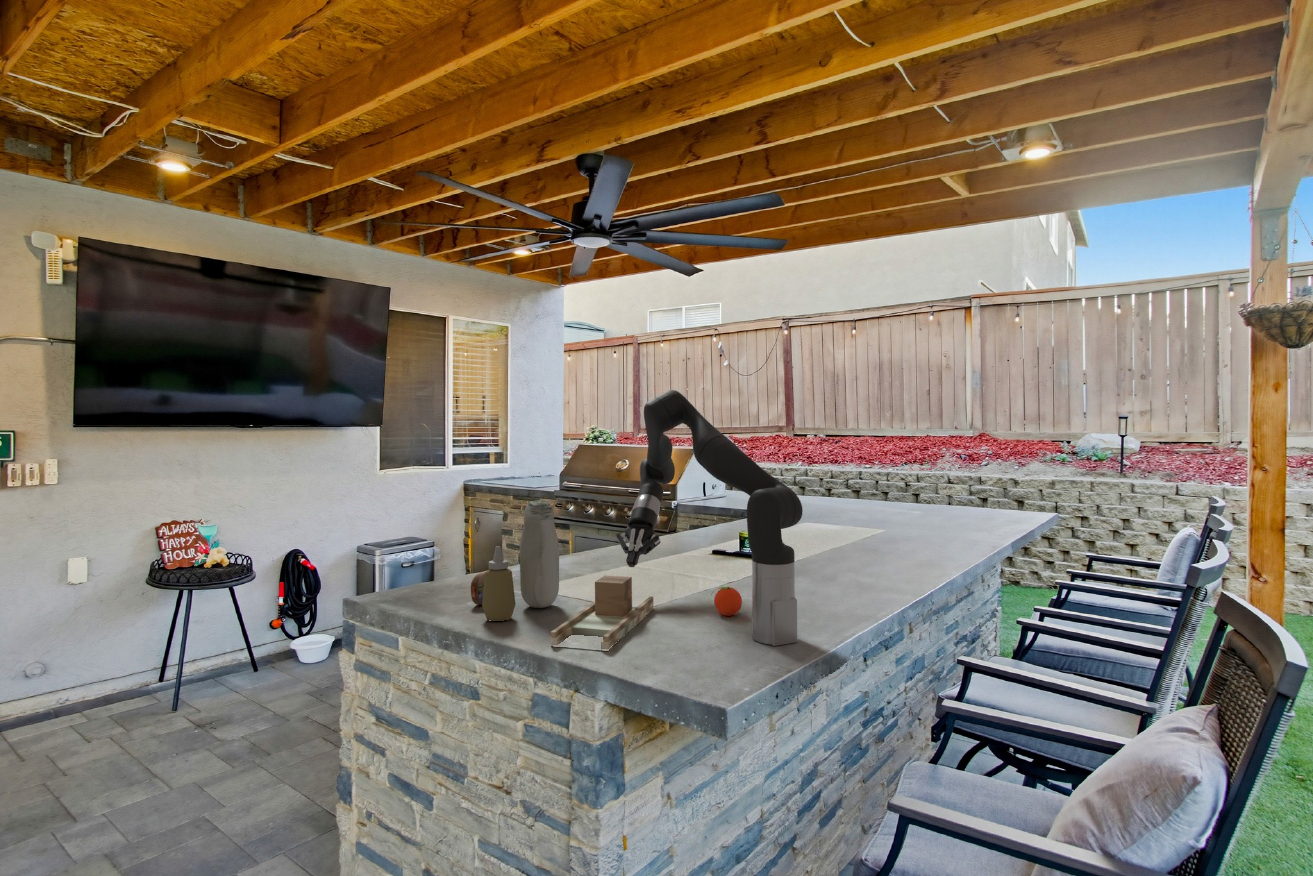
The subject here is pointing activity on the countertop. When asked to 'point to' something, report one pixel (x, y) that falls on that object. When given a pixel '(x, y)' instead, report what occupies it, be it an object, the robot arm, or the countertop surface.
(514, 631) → the countertop surface
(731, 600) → the clementine
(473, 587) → the tin
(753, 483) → the robot arm
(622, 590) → the walnut block
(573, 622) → the track
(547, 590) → the grey vase
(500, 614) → the squeeze bottle
